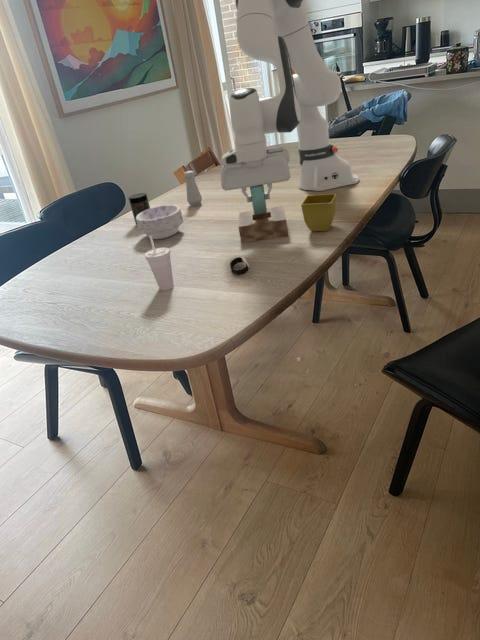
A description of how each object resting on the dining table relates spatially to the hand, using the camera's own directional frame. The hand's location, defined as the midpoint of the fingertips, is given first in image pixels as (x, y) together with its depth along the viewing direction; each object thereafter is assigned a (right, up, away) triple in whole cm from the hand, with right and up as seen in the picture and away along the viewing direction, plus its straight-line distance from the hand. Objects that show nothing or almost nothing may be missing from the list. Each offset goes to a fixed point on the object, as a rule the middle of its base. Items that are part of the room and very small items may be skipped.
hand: (258, 200), depth 140 cm
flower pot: (+19, -9, -1) cm, 21 cm away
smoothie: (-24, -27, -20) cm, 42 cm away
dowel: (+1, -3, +2) cm, 4 cm away
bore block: (+2, -8, +5) cm, 10 cm away
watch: (-5, -23, -18) cm, 30 cm away
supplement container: (-41, 0, +35) cm, 54 cm away
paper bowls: (-31, -7, +19) cm, 38 cm away
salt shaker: (-23, +10, +46) cm, 52 cm away
